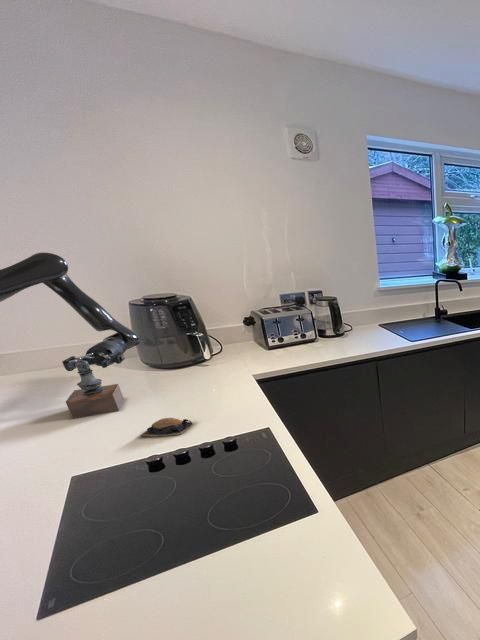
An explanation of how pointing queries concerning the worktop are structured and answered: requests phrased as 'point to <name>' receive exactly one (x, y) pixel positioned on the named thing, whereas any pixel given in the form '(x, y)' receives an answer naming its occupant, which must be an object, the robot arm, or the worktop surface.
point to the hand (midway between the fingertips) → (85, 366)
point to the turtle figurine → (168, 427)
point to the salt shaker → (88, 379)
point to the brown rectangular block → (95, 401)
